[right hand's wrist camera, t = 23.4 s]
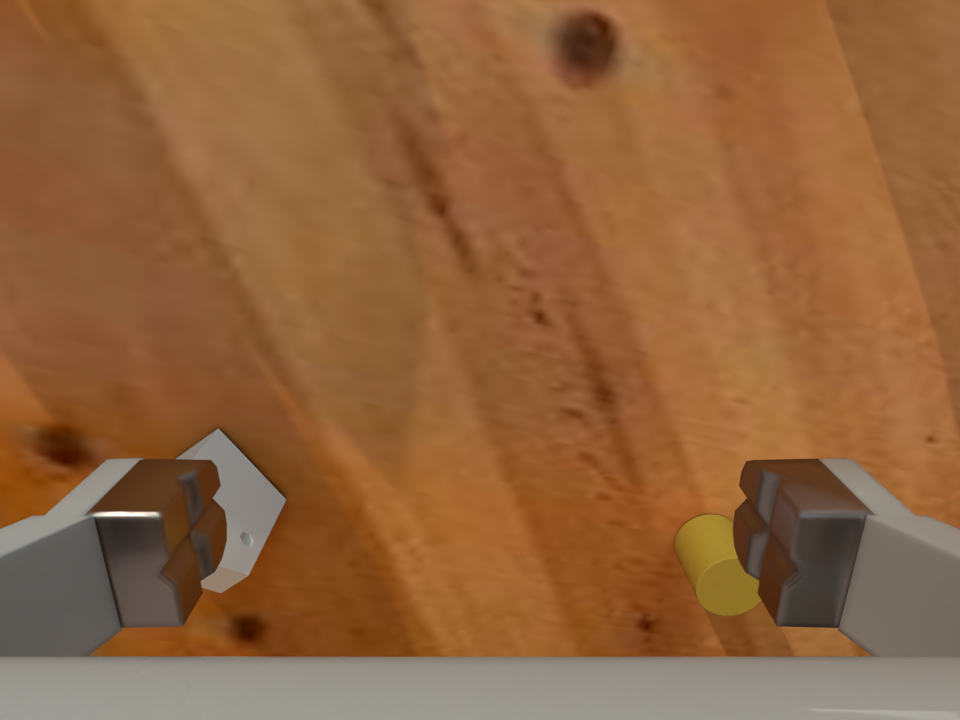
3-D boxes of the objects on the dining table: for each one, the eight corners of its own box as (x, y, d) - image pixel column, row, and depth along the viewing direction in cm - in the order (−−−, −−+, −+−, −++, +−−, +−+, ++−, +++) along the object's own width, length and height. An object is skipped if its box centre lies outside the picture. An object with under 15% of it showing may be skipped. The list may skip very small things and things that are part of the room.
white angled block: (139, 387, 32) (128, 535, 27) (281, 461, 40) (296, 591, 34) (89, 425, 33) (67, 578, 27) (238, 491, 40) (245, 623, 35)
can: (694, 505, 38) (719, 548, 34) (751, 527, 39) (782, 571, 35) (662, 556, 40) (683, 603, 36) (718, 576, 40) (744, 625, 36)
